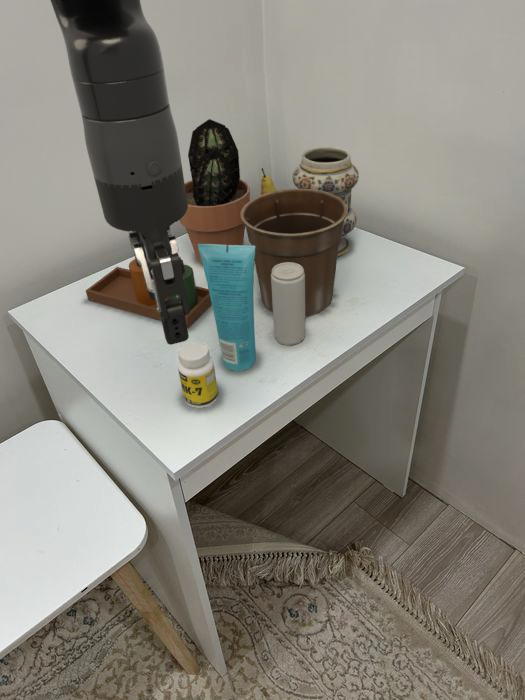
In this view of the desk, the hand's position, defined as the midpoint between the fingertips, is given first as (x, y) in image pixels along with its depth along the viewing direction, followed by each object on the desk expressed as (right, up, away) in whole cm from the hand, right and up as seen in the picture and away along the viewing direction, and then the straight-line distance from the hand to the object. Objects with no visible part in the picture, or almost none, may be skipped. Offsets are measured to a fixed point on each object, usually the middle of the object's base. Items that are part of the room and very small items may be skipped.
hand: (168, 317), depth 57 cm
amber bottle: (-10, +6, +38) cm, 39 cm away
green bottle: (-3, +4, +35) cm, 35 cm away
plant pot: (+15, +5, +36) cm, 40 cm away
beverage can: (+14, -2, +28) cm, 31 cm away
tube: (+6, -5, +24) cm, 26 cm away
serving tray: (-10, +5, +38) cm, 40 cm away
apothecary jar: (+22, +17, +50) cm, 57 cm away
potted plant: (+1, +15, +49) cm, 51 cm away
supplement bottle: (+1, -10, +19) cm, 21 cm away
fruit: (+11, +25, +60) cm, 66 cm away
